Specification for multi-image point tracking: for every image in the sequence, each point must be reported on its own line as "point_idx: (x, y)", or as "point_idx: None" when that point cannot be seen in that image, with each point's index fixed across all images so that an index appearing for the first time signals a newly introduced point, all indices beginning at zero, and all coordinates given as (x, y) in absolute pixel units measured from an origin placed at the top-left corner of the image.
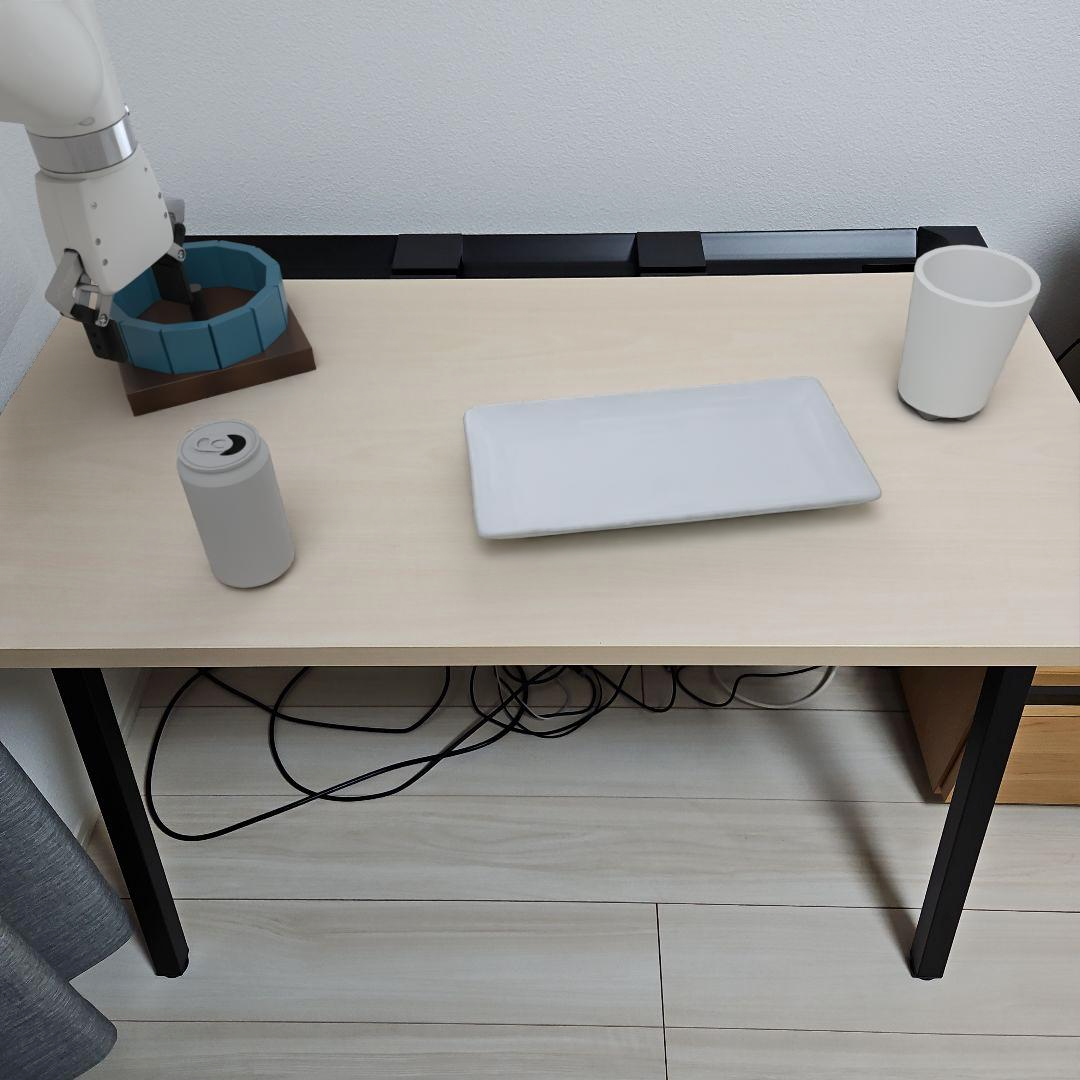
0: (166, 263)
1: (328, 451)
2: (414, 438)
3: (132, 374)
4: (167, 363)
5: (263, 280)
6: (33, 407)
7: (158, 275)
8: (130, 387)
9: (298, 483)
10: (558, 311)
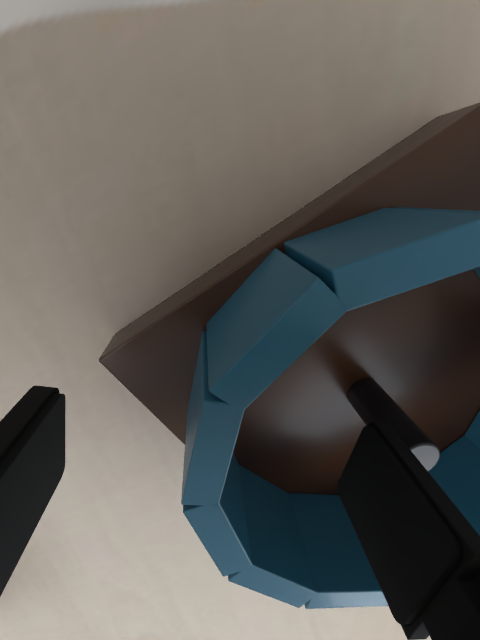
0: (434, 610)
1: (119, 573)
2: (166, 619)
3: (171, 340)
4: (186, 428)
5: (463, 497)
6: (77, 78)
7: (410, 514)
8: (122, 358)
9: (49, 571)
10: (393, 637)
